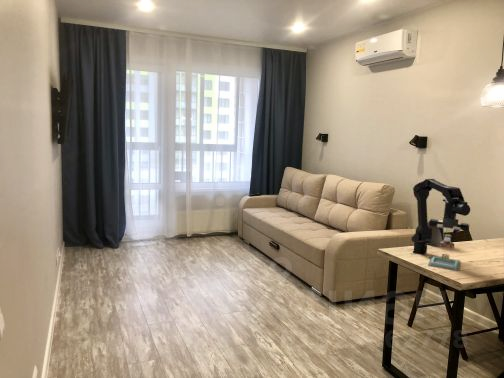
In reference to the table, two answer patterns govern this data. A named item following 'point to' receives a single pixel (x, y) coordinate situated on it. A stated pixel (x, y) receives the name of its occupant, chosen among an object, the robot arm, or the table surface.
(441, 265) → the carrier plate
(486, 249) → the table surface
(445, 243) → the planet gear
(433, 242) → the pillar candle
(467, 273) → the table surface
